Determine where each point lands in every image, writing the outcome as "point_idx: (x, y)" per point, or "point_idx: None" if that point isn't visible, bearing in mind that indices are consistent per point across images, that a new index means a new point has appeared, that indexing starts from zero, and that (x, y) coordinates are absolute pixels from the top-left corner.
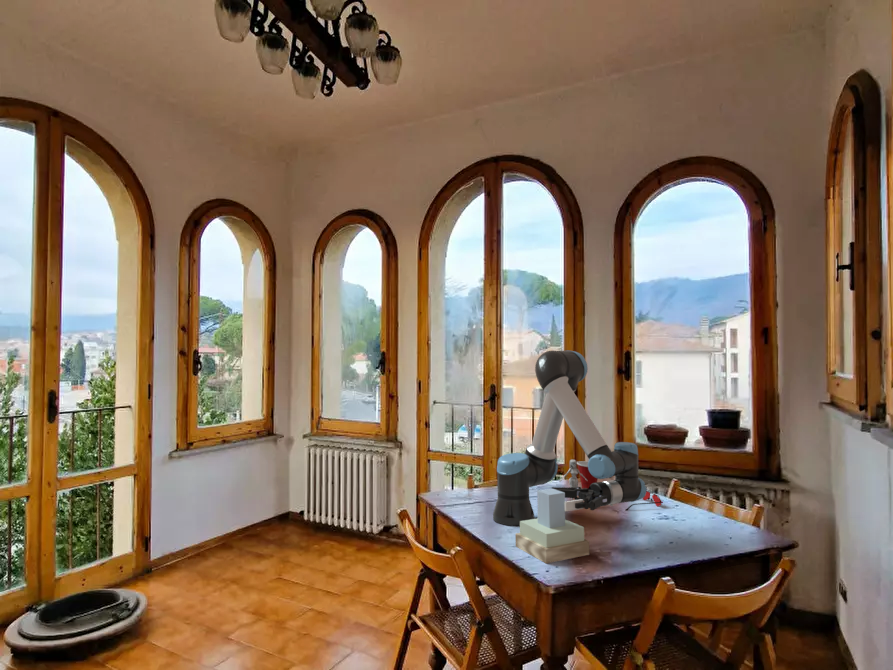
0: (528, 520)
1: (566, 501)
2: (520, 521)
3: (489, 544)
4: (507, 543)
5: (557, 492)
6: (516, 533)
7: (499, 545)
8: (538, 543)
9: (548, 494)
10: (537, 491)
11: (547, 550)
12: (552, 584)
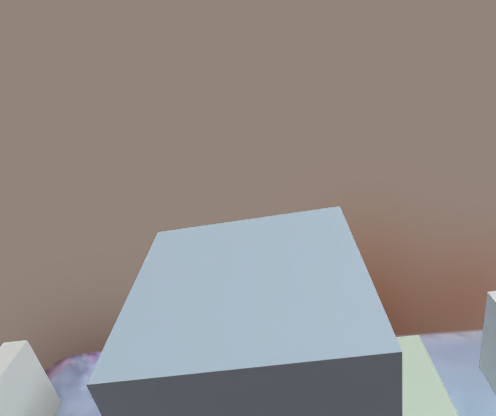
0: (428, 384)
1: (11, 360)
2: (412, 336)
3: (468, 333)
4: (481, 402)
5: (169, 313)
6: None
7: (451, 361)
8: None
9: (174, 233)
10: (338, 213)
11: None
12: (55, 369)
